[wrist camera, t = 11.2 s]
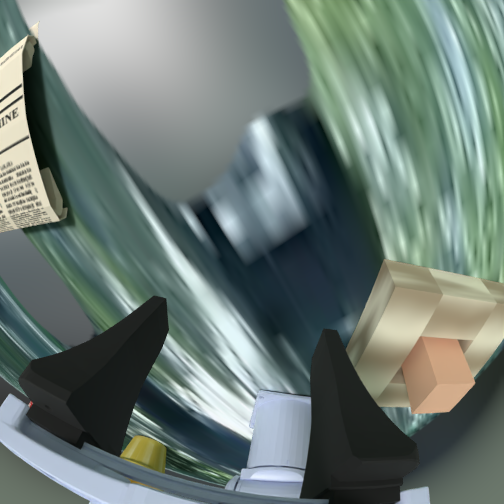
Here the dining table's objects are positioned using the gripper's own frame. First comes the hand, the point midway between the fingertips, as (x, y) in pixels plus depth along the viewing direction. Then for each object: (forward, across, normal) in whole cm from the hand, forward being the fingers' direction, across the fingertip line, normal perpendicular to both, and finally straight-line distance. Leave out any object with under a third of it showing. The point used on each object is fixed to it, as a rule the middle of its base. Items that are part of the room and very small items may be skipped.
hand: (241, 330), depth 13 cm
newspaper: (+10, +38, -4) cm, 39 cm away
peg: (+9, -16, +7) cm, 20 cm away
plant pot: (+10, +15, +47) cm, 50 cm away
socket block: (+9, -16, +7) cm, 20 cm away
